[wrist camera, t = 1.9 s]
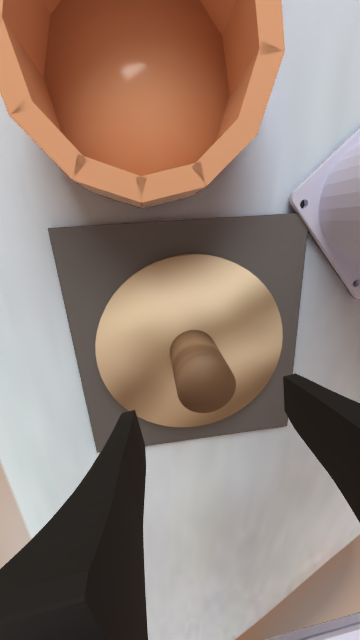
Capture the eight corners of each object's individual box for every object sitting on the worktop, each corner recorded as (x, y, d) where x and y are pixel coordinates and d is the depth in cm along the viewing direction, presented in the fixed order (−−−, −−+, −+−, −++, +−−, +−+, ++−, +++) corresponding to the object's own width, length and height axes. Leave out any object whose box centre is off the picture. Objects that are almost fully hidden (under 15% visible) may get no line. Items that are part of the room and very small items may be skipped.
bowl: (280, 105, 15) (333, 56, 11) (143, 244, 16) (142, 251, 12) (137, -133, 11) (131, -350, 7) (-20, 77, 13) (-100, 4, 9)
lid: (309, 342, 20) (363, 380, 15) (186, 446, 22) (198, 509, 17) (196, 207, 16) (220, 199, 11) (56, 350, 18) (22, 397, 13)
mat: (305, 212, 17) (309, 212, 17) (284, 422, 23) (287, 425, 22) (50, 228, 15) (47, 228, 15) (98, 448, 21) (97, 452, 21)
